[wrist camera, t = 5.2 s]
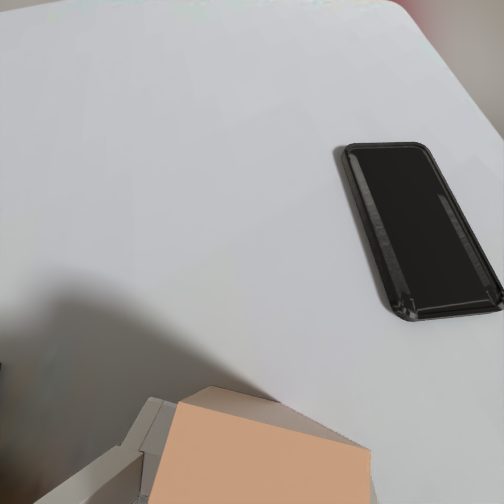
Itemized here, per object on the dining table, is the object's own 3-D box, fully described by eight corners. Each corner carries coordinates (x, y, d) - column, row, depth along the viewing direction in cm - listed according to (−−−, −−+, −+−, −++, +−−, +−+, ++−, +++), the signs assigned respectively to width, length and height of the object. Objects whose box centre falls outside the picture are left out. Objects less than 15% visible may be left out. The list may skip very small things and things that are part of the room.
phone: (403, 321, 16) (341, 143, 22) (393, 324, 17) (336, 153, 23) (515, 309, 17) (426, 141, 23) (499, 313, 18) (418, 151, 24)
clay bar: (271, 471, 13) (366, 690, 4) (193, 451, 13) (112, 618, 4) (282, 403, 14) (370, 450, 5) (210, 385, 14) (178, 401, 5)
